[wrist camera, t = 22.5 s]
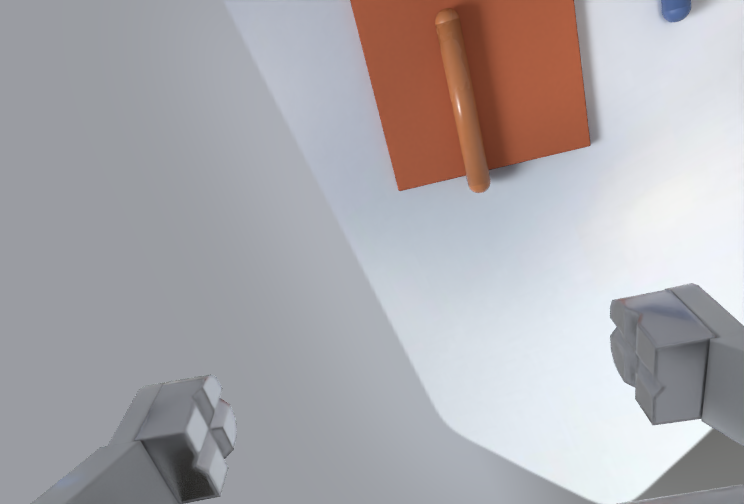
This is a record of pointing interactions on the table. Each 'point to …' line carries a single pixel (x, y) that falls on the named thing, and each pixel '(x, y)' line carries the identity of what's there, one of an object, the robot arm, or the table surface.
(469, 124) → the square head mallet
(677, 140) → the table surface
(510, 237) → the table surface
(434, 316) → the table surface
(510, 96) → the terracotta mat
